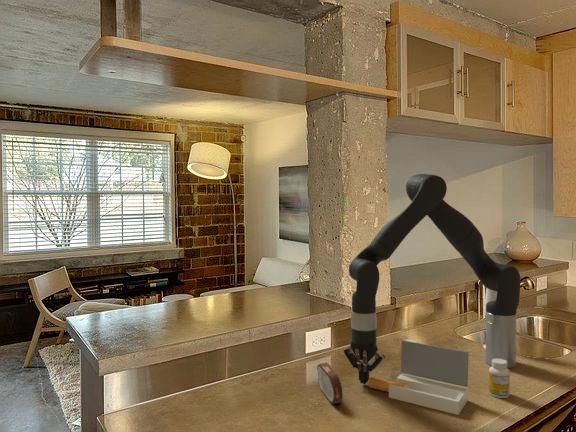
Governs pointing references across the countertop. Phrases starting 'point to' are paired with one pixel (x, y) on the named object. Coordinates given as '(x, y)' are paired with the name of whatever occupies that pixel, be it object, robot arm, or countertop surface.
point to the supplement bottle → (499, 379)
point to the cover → (435, 363)
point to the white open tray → (430, 393)
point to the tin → (329, 383)
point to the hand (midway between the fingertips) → (363, 382)
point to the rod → (382, 384)
